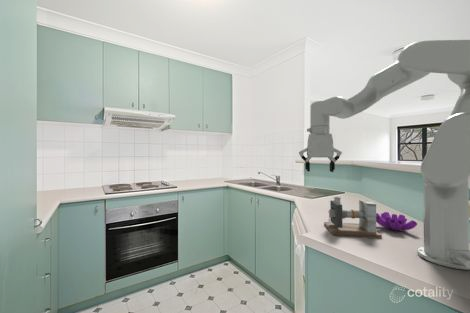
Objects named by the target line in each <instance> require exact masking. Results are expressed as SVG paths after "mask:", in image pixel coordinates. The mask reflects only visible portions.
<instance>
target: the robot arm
mask: <svg viewBox="0 0 470 313" xmlns="http://www.w3.org/2000/svg"><path fill="white" fill-rule="evenodd" d="M431 73H433V74H446V75H447V78H448V79H449V80H450V81H451V83H454V85H457V86H458V88H459V89H460V94H459V96H458V98H457V100H456V102H455V105H454V107H453V109H452V111H451V112H450V115H449V117H447V118H446V119H445V120H443V122H442V123H441V124H440V126H439V127H438V129H437V131H436V133H435V135H434V137H433V139H432V141H431V144H430V145H429V148H428V149H427V152H426V154H425V156H424V158H423V159H422V162H421V165H420V173H421V176H422V177H423V186H422V187H423V193H422V195H423V198H422V199H423V207H422V208H423V209H422V210H423V213H422V214H423V246H420V247H418V248H417V251H416V252H417V254H418V255H419V257H421V258H422V259H425V260H426V261H429V262H430V263H433V264H436V265H439V266H443V267H446V268H451V269H456V270H464V271H465V270H467V271H470V217H469V216H470V212H469V211H470V203H469V201H470V200H469V199H470V198H469V196H470V195H469V194H470V193H469V177H470V39H443V40H442V39H439V40H438V39H435V40H433V39H431V40H421V41H416V42H413V43H410V44H409V45H407V46H405V47H404V48H403V49H402V50H401V51H400V52H399V54H398V56H397V61H396V62H395V63H393V64H391V65H388V67H386V68H383V69H382V70H381V71H378V72H377V73H375V74H373V75H372V76H371V77H370V78H369V79H368V80H367V83H366V84H365V87H364V88H363V89H361V91H360V92H358V93H357V94H355V95H353V96H351V97H349V98H348V99H346V98H345V97H342V96H332V97H330V98H326V99H324V100H318V101H314V102H312V103H311V104H310V112H309V113H310V119H309V120H310V126H309V128H307V129H306V132H309V134H308V136H307V137H308V138H307V144H306V146H307V147H305V148H304V149H302V150H300V151H298V156H300V158H301V160H303V161H304V162H305V170H306V172H310V170H311V169H310V168H311V166H310V165H311V162H310V160H311V159H312V158H327V159H328V160H329V172H331V173H334V171H335V170H336V167H335V166H336V162H337V161H338V160H339V159H340V157H341V155H342V153H343V152H342V151H341V150H339V149H337V148H335V147H334V139H333V133H330V119H331V118H330V117H334V118H338V119H342V120H343V119H349V118H351V117H353V116H356V115H358V114H359V113H362V112H365V110H367V109H369V108H371V107H372V106H373V105H375V104H376V103H378V102H379V101H380V100H382V99H383V98H385V97H387V96H388V95H390V94H392V93H394V92H396V91H398V90H400V89H402V88H404V87H407V86H408V85H409V86H410V84H413V83H415V82H417V81H419V80H421V79H423V78H425V77H427V76H428V75H430V74H431ZM304 153H306V156H307V157H305V155H304ZM335 154H336V155H335ZM334 155H335V156H334Z"/></svg>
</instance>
